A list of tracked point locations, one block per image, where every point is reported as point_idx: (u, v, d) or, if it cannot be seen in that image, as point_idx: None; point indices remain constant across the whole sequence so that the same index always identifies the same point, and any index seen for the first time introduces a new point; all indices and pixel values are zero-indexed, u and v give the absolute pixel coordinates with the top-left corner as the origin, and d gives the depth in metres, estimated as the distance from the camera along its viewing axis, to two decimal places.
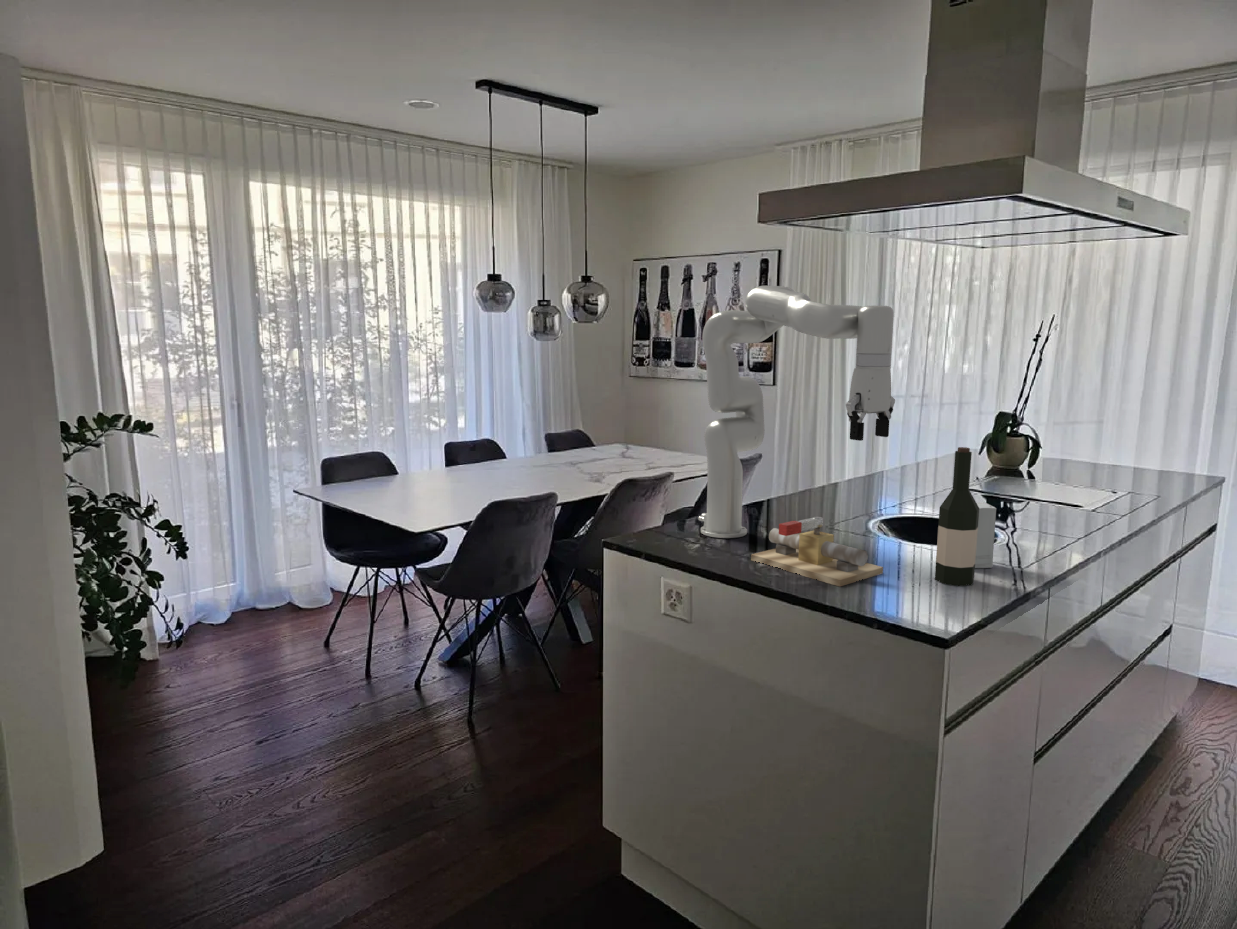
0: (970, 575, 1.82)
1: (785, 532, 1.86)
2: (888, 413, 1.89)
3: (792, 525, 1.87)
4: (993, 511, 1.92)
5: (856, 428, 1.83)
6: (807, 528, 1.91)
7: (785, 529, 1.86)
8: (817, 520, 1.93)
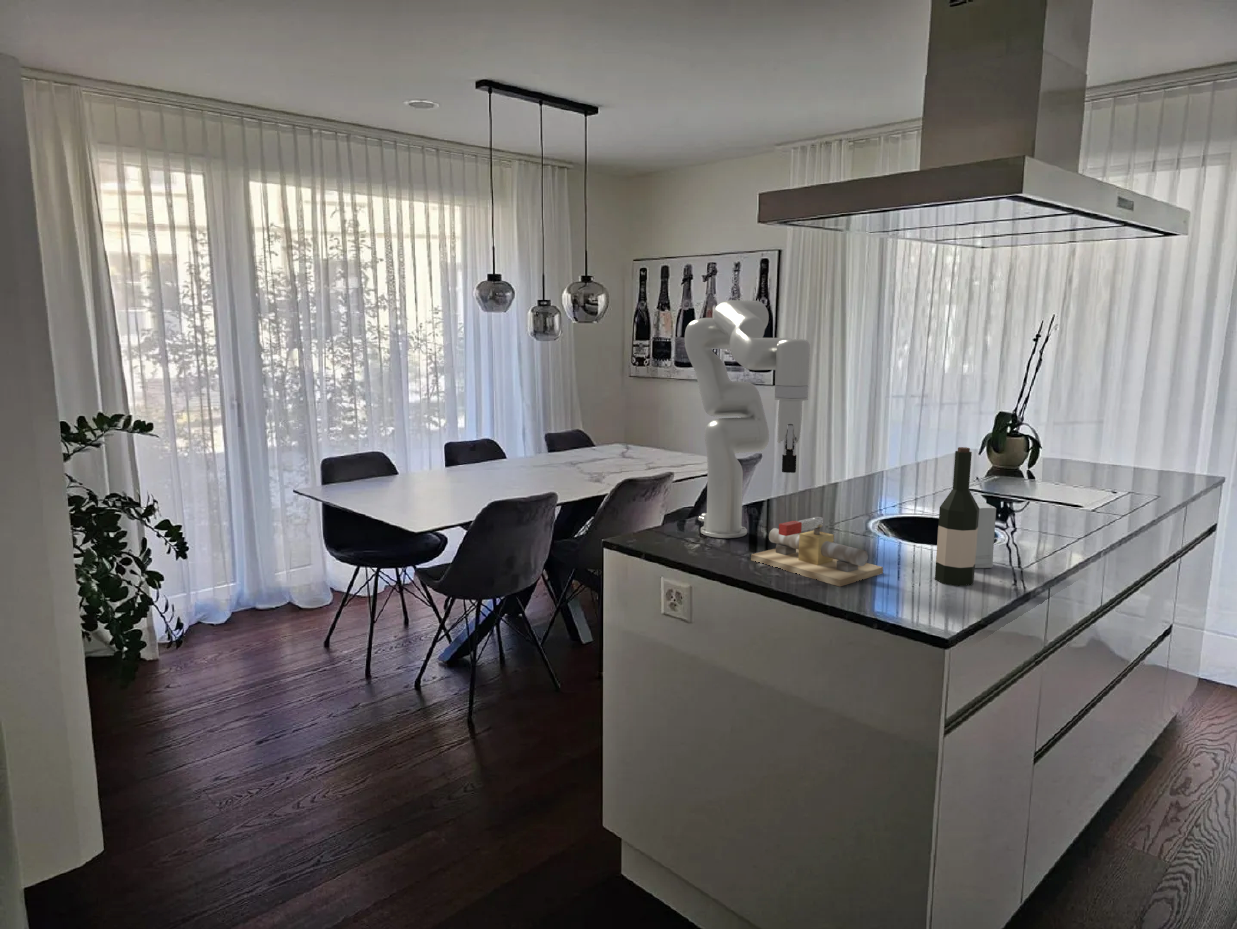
0: (970, 575, 1.82)
1: (785, 532, 1.86)
2: None
3: (792, 525, 1.87)
4: (993, 511, 1.92)
5: (791, 461, 1.92)
6: (807, 528, 1.91)
7: (785, 529, 1.86)
8: (817, 520, 1.93)
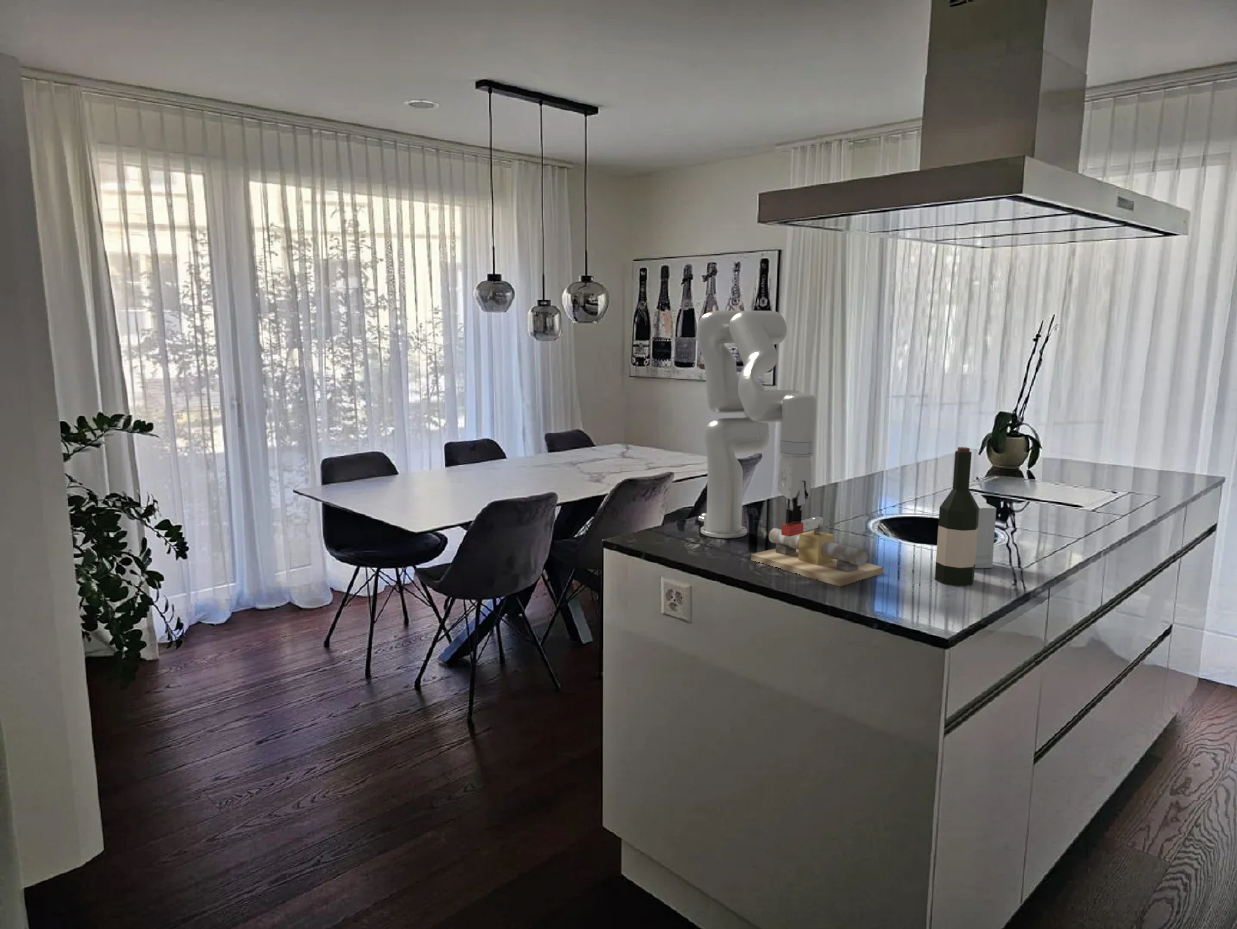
0: (970, 575, 1.82)
1: (788, 533, 1.86)
2: None
3: (795, 525, 1.86)
4: (993, 511, 1.92)
5: (798, 516, 1.91)
6: (808, 528, 1.90)
7: (788, 530, 1.85)
8: (817, 520, 1.93)
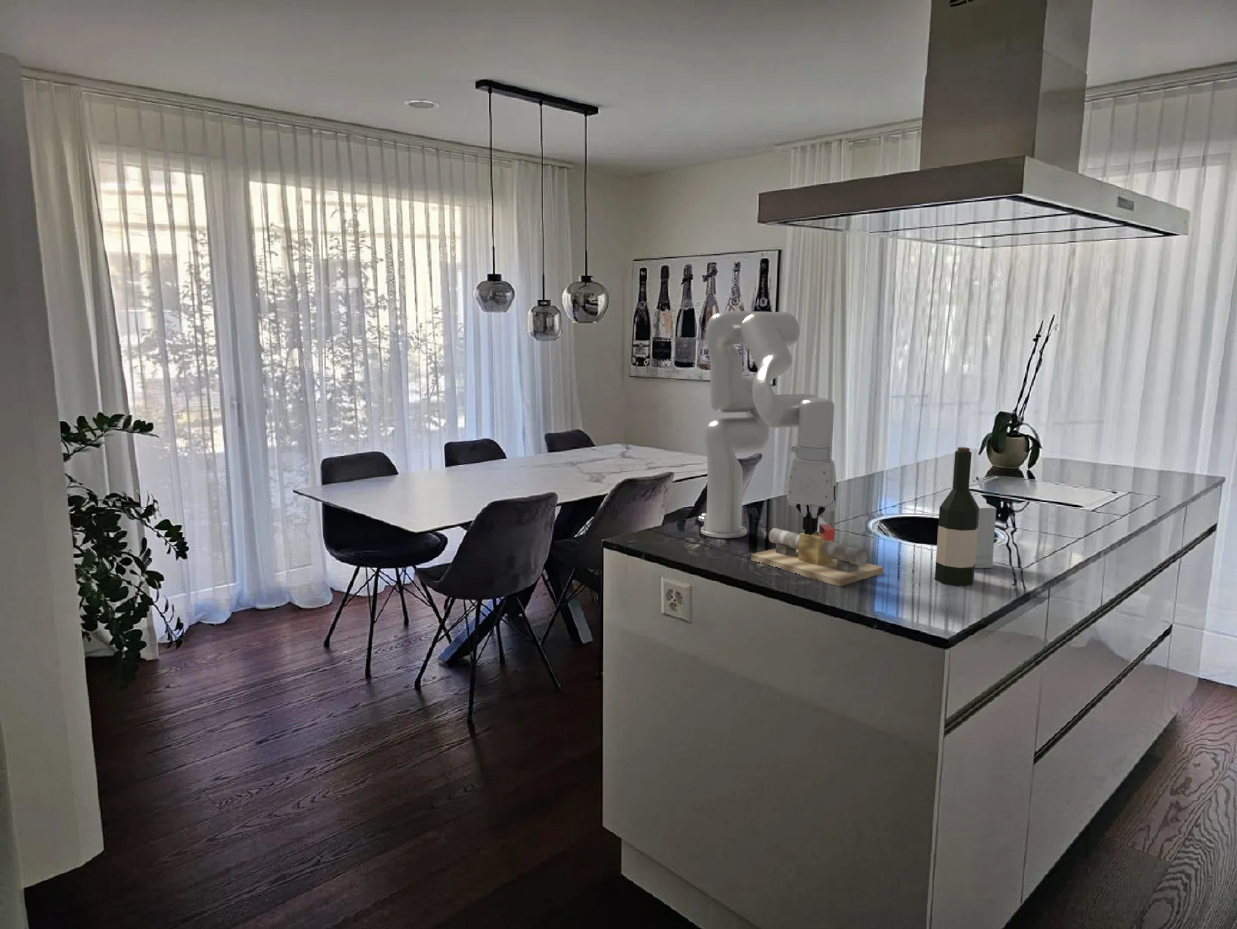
0: (970, 575, 1.82)
1: (833, 537, 1.82)
2: None
3: None
4: (993, 511, 1.92)
5: (817, 522, 1.87)
6: None
7: (833, 534, 1.82)
8: None
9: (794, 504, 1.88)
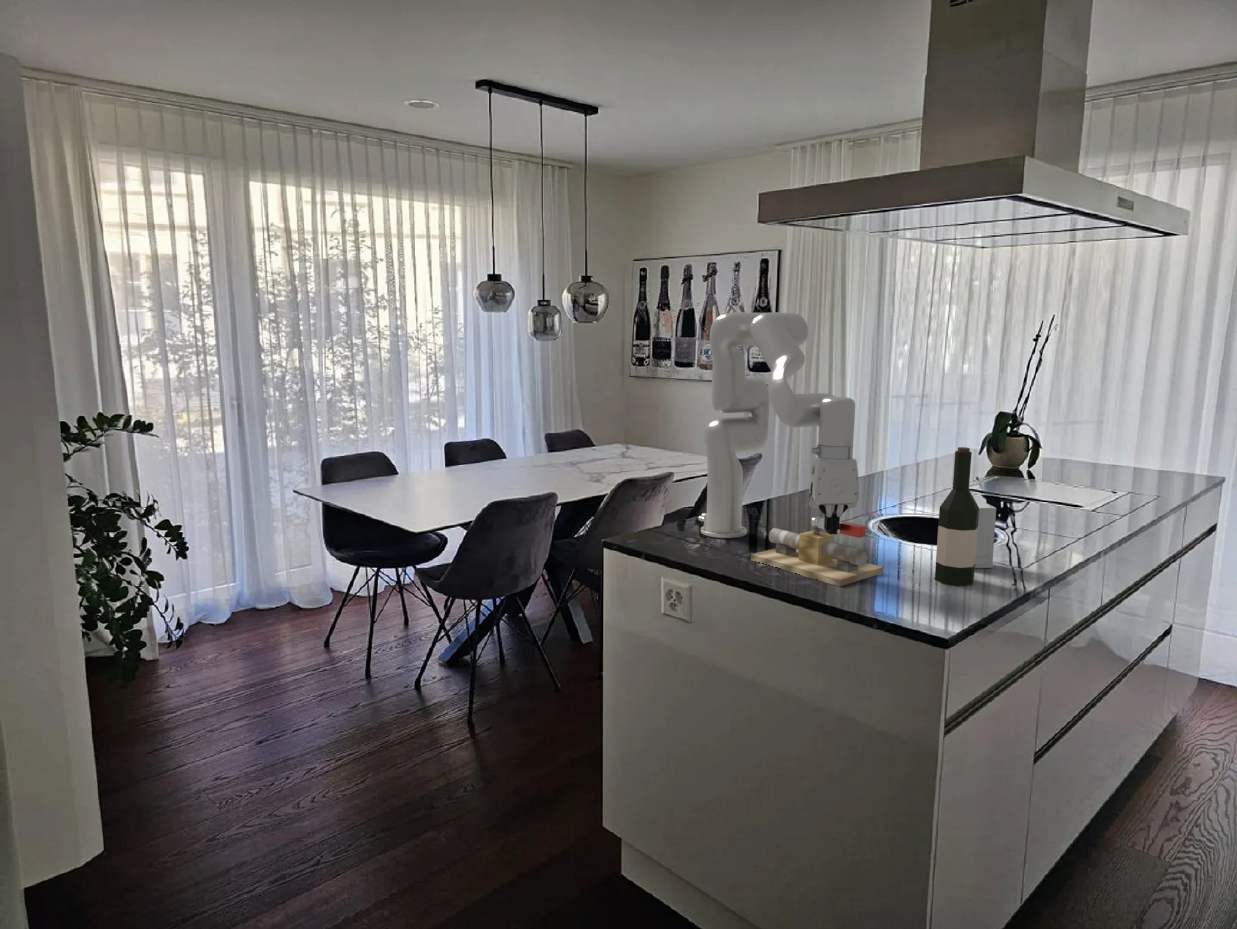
0: (970, 575, 1.82)
1: (864, 533, 1.86)
2: None
3: None
4: (993, 511, 1.92)
5: None
6: None
7: (864, 530, 1.86)
8: None
9: (816, 505, 1.85)
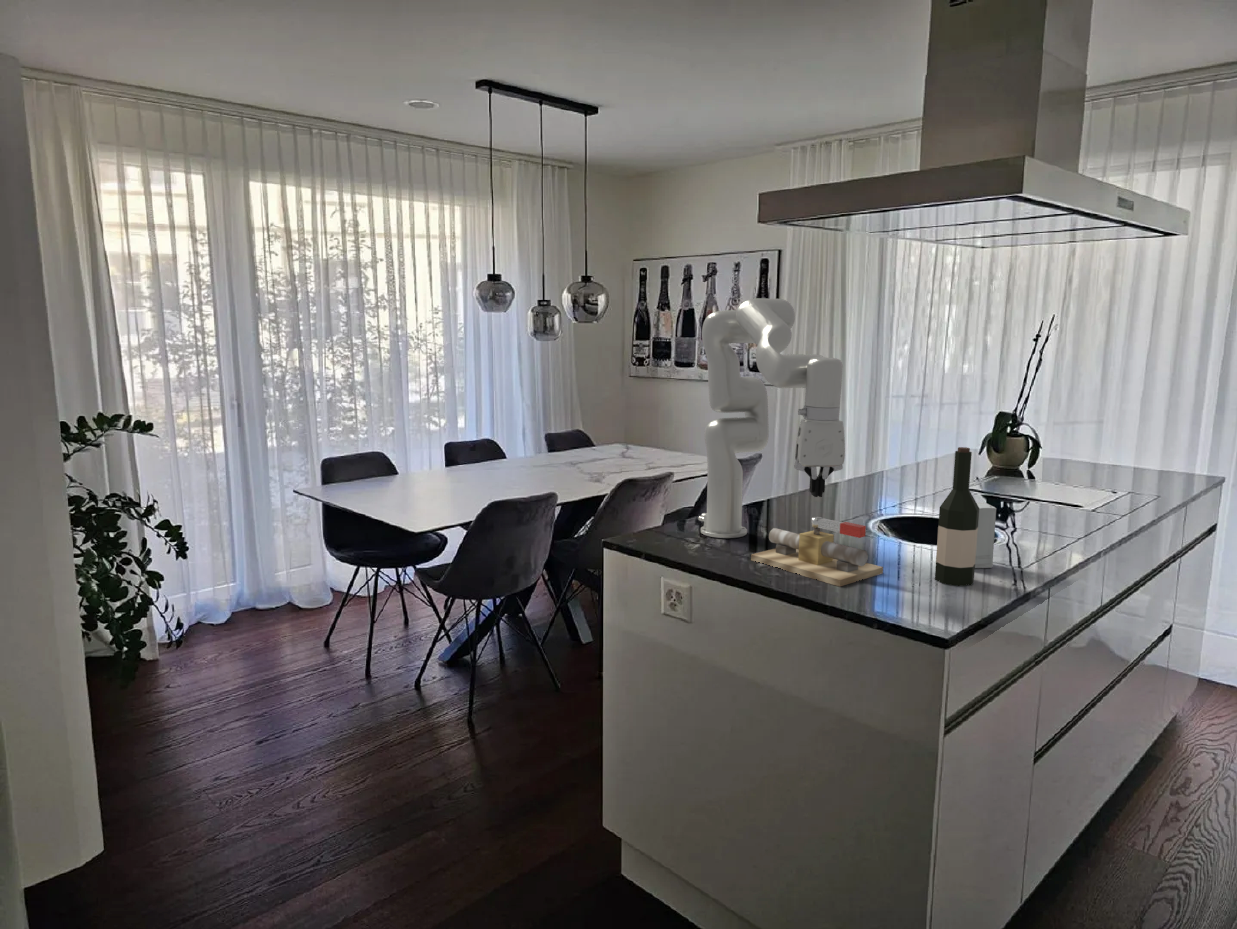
0: (970, 575, 1.82)
1: (864, 533, 1.86)
2: None
3: None
4: (993, 511, 1.92)
5: None
6: None
7: (864, 530, 1.86)
8: None
9: (802, 467, 1.83)
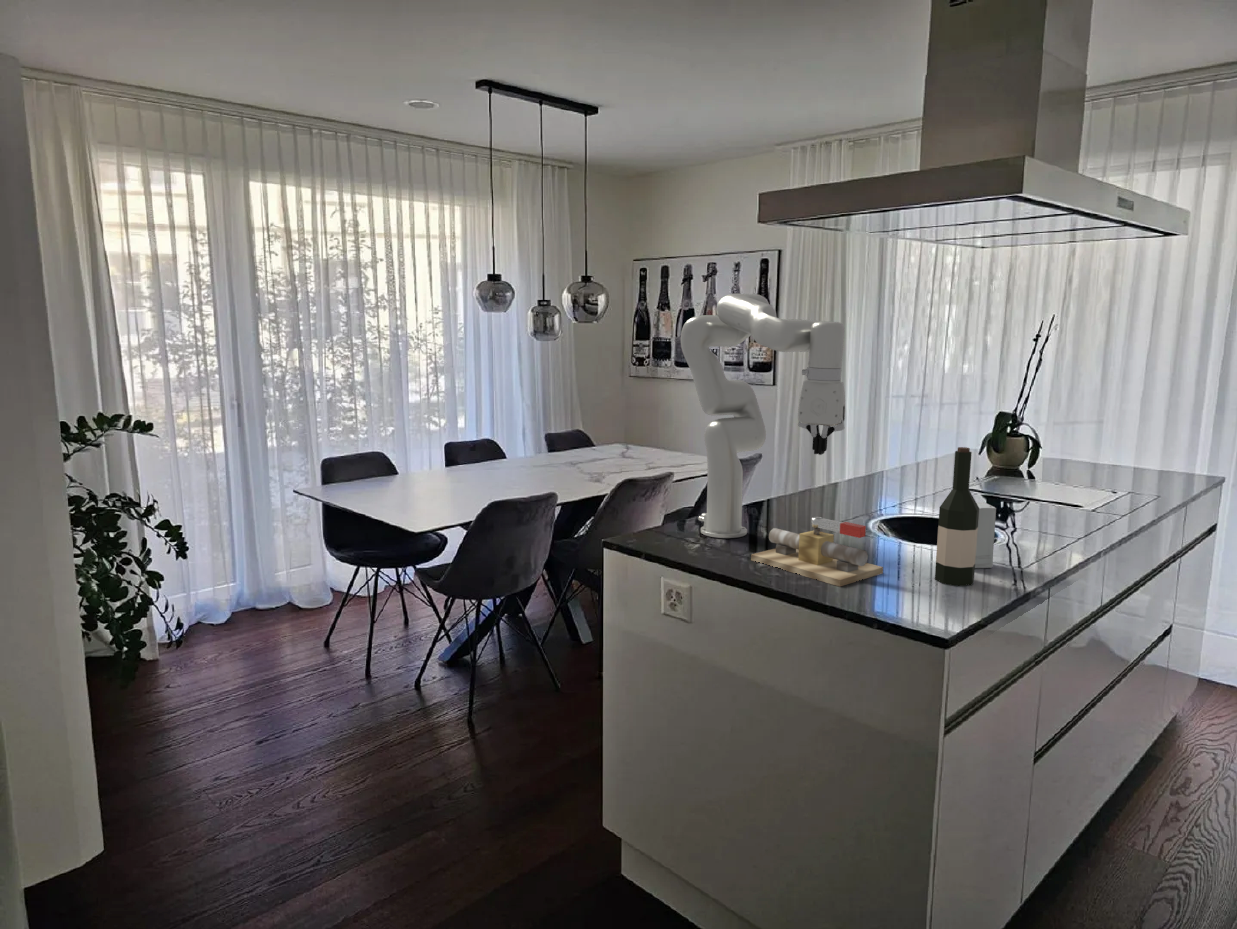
0: (970, 575, 1.82)
1: (864, 533, 1.86)
2: None
3: None
4: (993, 511, 1.92)
5: (826, 442, 1.94)
6: None
7: (864, 530, 1.86)
8: None
9: (804, 425, 1.95)
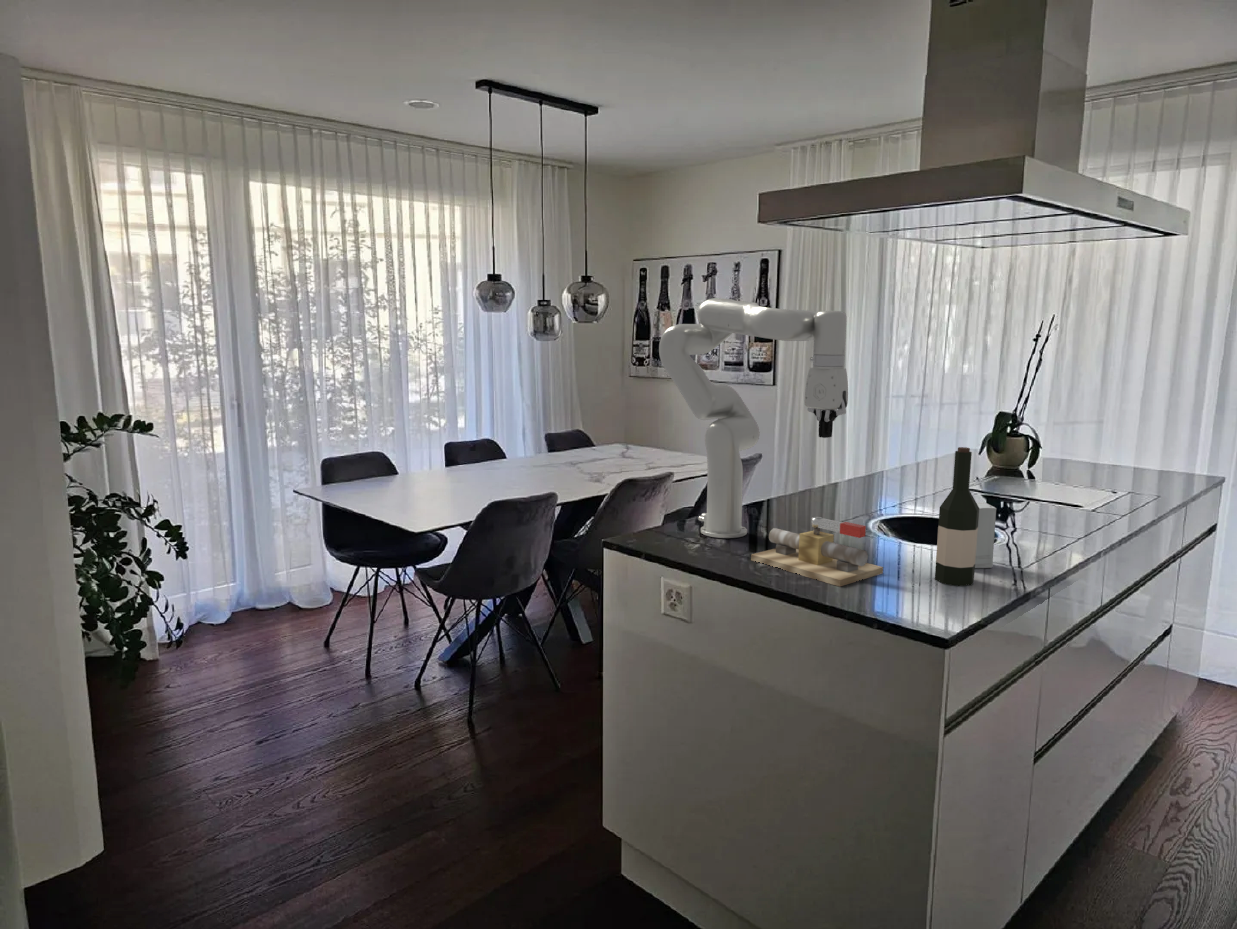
0: (970, 575, 1.82)
1: (864, 533, 1.86)
2: None
3: None
4: (993, 511, 1.92)
5: (831, 426, 2.03)
6: None
7: (864, 530, 1.86)
8: None
9: (812, 409, 2.06)
